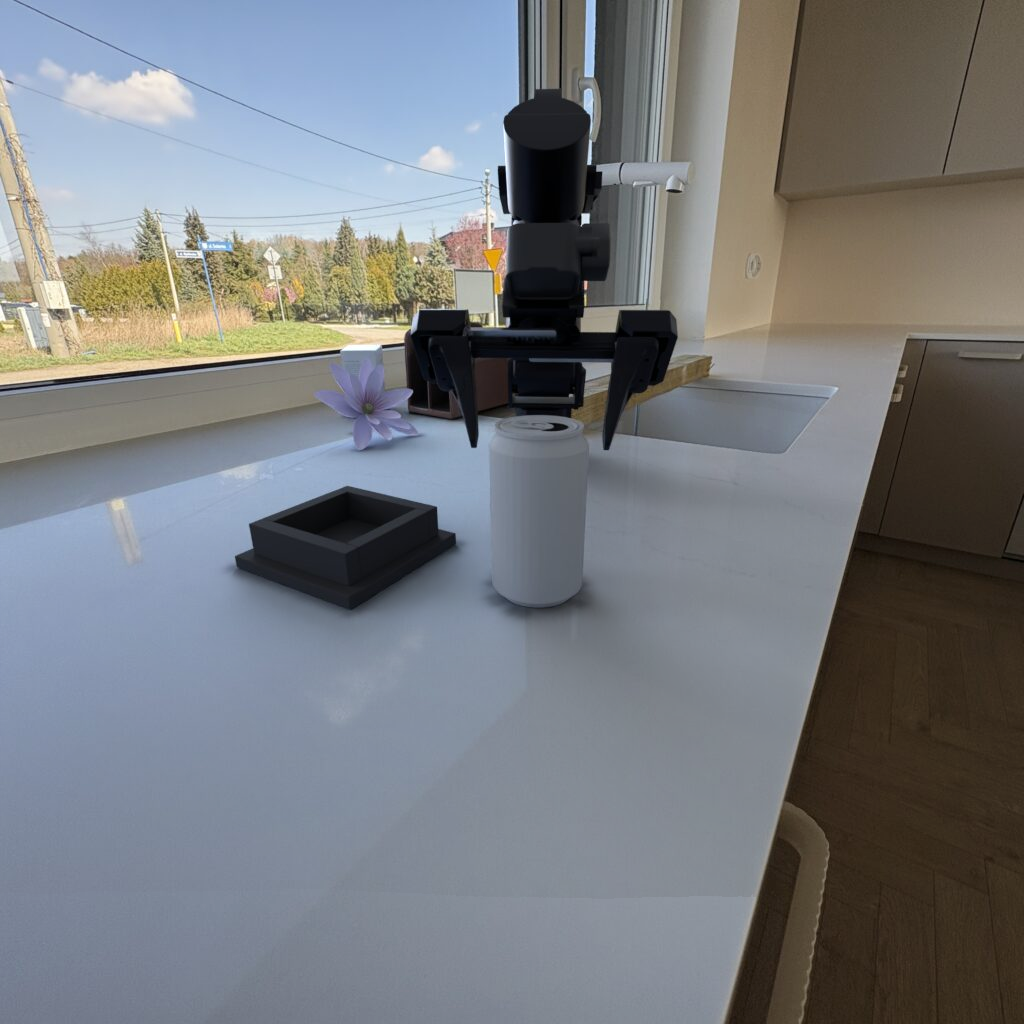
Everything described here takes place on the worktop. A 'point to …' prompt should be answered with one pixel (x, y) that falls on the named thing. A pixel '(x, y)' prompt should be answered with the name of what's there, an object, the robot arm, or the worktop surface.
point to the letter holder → (443, 403)
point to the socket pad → (345, 544)
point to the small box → (361, 359)
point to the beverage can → (538, 508)
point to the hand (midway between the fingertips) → (539, 446)
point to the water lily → (367, 403)
